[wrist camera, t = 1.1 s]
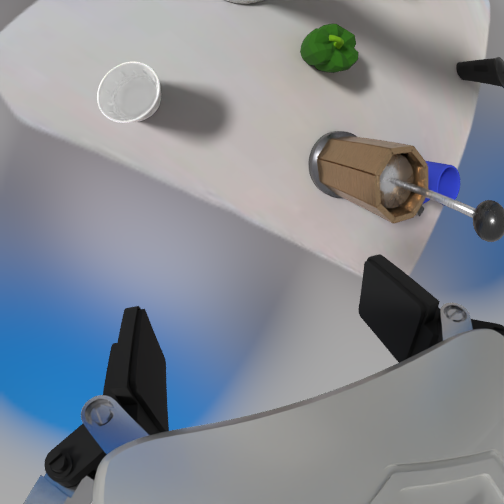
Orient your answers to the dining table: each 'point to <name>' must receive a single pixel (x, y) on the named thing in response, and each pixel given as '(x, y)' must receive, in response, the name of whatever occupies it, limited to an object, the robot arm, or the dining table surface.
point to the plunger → (437, 199)
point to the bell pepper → (330, 48)
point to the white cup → (129, 93)
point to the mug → (443, 180)
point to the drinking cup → (483, 71)
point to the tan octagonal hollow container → (364, 172)
